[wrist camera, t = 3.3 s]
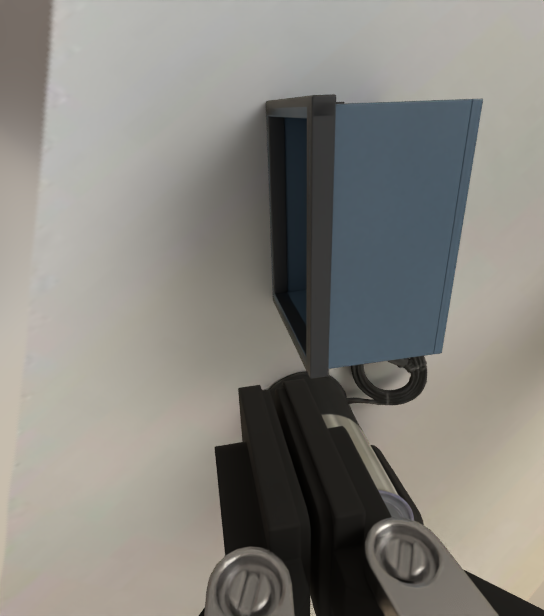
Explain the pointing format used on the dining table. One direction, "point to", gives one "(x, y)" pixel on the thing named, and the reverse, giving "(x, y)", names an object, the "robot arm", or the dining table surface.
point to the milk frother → (340, 414)
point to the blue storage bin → (366, 223)
